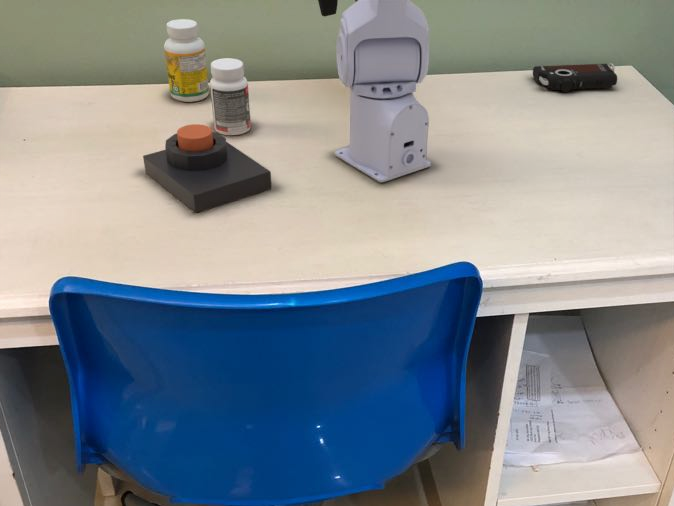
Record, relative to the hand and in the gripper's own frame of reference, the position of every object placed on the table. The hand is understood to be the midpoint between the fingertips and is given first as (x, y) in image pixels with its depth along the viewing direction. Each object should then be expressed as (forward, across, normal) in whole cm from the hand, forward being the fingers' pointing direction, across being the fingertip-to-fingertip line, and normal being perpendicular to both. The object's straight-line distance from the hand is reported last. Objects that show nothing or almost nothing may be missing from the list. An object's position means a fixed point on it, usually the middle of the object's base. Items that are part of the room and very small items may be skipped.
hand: (346, 21), depth 117 cm
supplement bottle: (+10, -12, -18) cm, 24 cm away
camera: (+10, +19, +28) cm, 35 cm away
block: (+9, +11, -31) cm, 34 cm away
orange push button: (+6, +9, -31) cm, 32 cm away
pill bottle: (+10, +1, -20) cm, 22 cm away
